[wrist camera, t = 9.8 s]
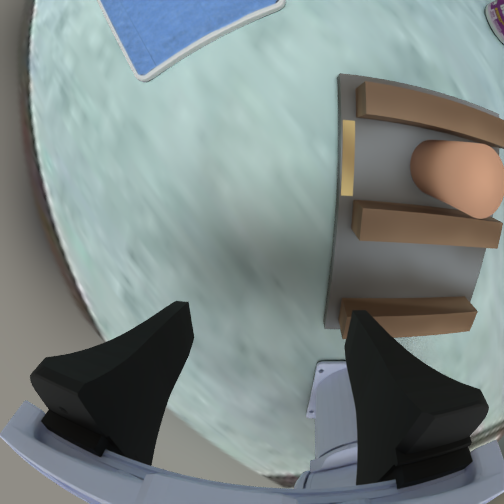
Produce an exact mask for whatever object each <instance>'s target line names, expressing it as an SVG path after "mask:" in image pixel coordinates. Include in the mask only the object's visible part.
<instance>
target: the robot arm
mask: <svg viewBox="0 0 504 504" xmlns="http://www.w3.org/2000/svg"><path fill="white" fill-rule="evenodd" d="M193 340H194V333H193V327H192V321H191V315H190V308H189V302H182V301H175V302H173V303H172V304H170V305H169V306H167V307H166V308H164V309H163V310H161V311H160V312H158V313H157V314H155V315H154V316H152V317H151V318H149V319H148V320H146V321H145V322H143V323H141V324H140V325H138V326H136V327H135V328H133V329H131V330H130V331H128V332H126V333H124V334H122V335H120V336H118V337H116V338H114V339H112V340H110V341H107V342H105V343H103V344H100V345H97V346H94V347H92V348H89V349H85V350H82V351H78V352H74V353H71V354H66V355H60V356H53V357H46V358H45V359H44V360H43V361H42V362H41V363H40V364H39V365H38V367H37V368H36V369H35V370H34V371H33V372H32V374H31V375H30V379H31V383H32V386H33V387H34V389H35V391H36V392H37V393H38V395H39V396H40V398H41V399H42V401H43V402H44V403H45V405H46V406H47V407H48V409H49V410H48V412H47V413H46V414H45V413H44V412H43V411H42V410H41V409H39V408H38V407H36V406H35V405H33V404H31V403H30V402H28V401H26V400H25V401H24V402H23V404H22V405H21V406H20V407H19V409H18V410H17V411H16V413H15V414H14V415H13V417H12V418H11V419H10V421H9V422H8V423H7V425H6V426H5V427H4V429H3V430H2V432H1V433H0V437H1V438H2V439H3V440H4V441H5V442H6V443H7V444H8V445H9V446H10V447H11V448H12V449H13V450H14V451H15V452H16V453H17V454H18V455H20V456H21V457H22V458H23V459H24V460H25V461H26V462H27V463H29V464H30V465H31V466H32V467H34V468H35V469H36V470H38V471H39V472H40V473H42V474H43V475H45V476H46V477H47V478H49V479H50V480H52V481H53V482H55V483H56V484H58V485H59V486H61V487H63V488H64V489H66V490H67V491H69V492H70V493H72V494H74V495H75V496H77V497H79V498H80V499H82V500H84V501H86V502H87V503H89V504H486V503H488V502H489V501H491V500H492V499H494V498H495V497H497V496H498V495H500V494H501V493H503V492H504V459H503V456H502V453H501V451H500V448H499V445H498V443H497V440H494V441H492V442H490V443H487V444H485V445H483V446H480V447H478V448H476V449H474V450H473V451H471V452H470V451H469V448H468V446H470V445H471V443H472V442H471V439H470V435H471V434H472V433H473V432H474V431H475V429H476V428H477V427H478V426H479V425H480V424H481V423H482V421H483V420H484V419H485V417H486V415H487V413H488V410H489V406H488V404H487V402H486V400H485V398H484V396H483V394H482V392H481V390H480V389H477V388H474V387H471V386H469V385H466V384H463V383H460V382H458V381H456V380H454V379H451V378H449V377H447V376H445V375H443V374H441V373H440V372H438V371H436V370H435V369H433V368H431V367H429V366H428V365H426V364H425V363H423V362H422V361H421V360H419V359H418V358H416V357H415V356H414V355H412V354H411V353H410V352H409V351H407V350H406V349H405V348H404V347H403V346H402V345H400V344H399V343H398V342H397V341H396V340H395V339H394V338H393V337H392V336H391V335H390V334H389V333H388V332H387V331H386V330H385V329H384V328H383V327H382V326H381V325H380V324H379V323H378V322H377V321H376V320H375V319H374V318H373V317H372V316H371V315H370V314H369V313H368V312H367V311H366V310H352V315H351V320H350V325H349V329H348V334H347V338H346V342H345V356H346V361H322V362H319V363H317V366H316V371H315V376H314V381H313V386H312V390H311V395H310V399H309V404H308V408H307V413H306V417H307V418H315V458H316V459H315V460H311V461H310V471H305V472H303V473H302V474H301V476H300V477H299V479H298V480H297V482H296V484H295V486H294V489H286V488H266V487H254V486H244V485H235V484H228V483H222V482H215V481H210V480H205V479H200V478H195V477H191V476H186V475H182V474H178V473H174V472H170V471H167V470H163V469H160V468H156V467H153V466H151V465H152V459H153V454H154V449H155V444H156V440H157V436H158V432H159V428H160V425H161V421H162V418H163V414H164V411H165V408H166V405H167V402H168V399H169V397H170V394H171V392H172V390H173V388H174V385H175V383H176V381H177V379H178V377H179V375H180V373H181V371H182V369H183V367H184V365H185V362H186V360H187V358H188V356H189V353H190V350H191V347H192V343H193ZM320 369H323V370H320Z"/></svg>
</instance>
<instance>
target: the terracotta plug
mask: <svg viewBox="0 0 504 504" xmlns="http://www.w3.org/2000/svg"><path fill="white" fill-rule="evenodd" d="M410 170H411V175H412V179H413V181H414V183H415V184H416V186H417V187H418V188H419V189H420V190H421V191H422V192H424V193H425V194H428V195H430V196H432V197H434V198H436V199H438V200H440V201H443V202H445V203H447V204H449V205H451V206H453V207H455V208H457V209H459V210H461V211H463V212H464V213H466V214H468V215H470V216H472V217H474V218H478V219H483V218H487V217H489V216H491V215H492V214H493V213H494V212H495V211H496V210H497V209H498V207H499V206H500V204H501V202H502V199H503V196H504V167H503V164H502V161H501V159H500V157H499V155H498V154H497V153H496V151H495V150H494V149H492V148H491V147H490V146H488V145H486V144H481V143H471V142H460V141H446V140H426V141H423V142H422V143H420V144H419V145H418V146H417V147H416V148H415V150H414V152H413V154H412V157H411V162H410Z"/></svg>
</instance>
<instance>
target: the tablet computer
mask: <svg viewBox="0 0 504 504" xmlns="http://www.w3.org/2000/svg"><path fill="white" fill-rule="evenodd" d="M97 2H98V4H99V6H100V8H101V10H102V12H103V14H104V16H105V18H106V20H107V22H108V24H109V26H110V28H111V30H112V32H113V34H114V36H115V38H116V40H117V42H118V44H119V46H120V48H121V50H122V51H123V54H124V56H125V57H126V59H127V61H128V63H129V65H130V67H131V69H132V71H133V73H134V75H135V77H136V78H137V79H138V80H140V81H142V82H146V81H150V80H151V79H153V78H155V77H156V76H157V75H159V74H160V73H162V72H163V71H165V70H166V69H168V68H170V67H171V66H173V65H174V64H176V63H177V62H179V61H181V60H182V59H184V58H185V57H187V56H189V55H190V54H192V53H194V52H195V51H197V50H199V49H201V48H202V47H204V46H206V45H208V44H210V43H211V42H213V41H215V40H217V39H219V38H221V37H222V36H224V35H226V34H228V33H230V32H232V31H234V30H236V29H238V28H240V27H243V26H245V25H247V24H249V23H251V22H253V21H256V20H258V19H260V18H262V17H264V16H267V15H269V14H271V13H274V12H276V11H279V10H280V9H282V8H283V7H284V6H285V3H286V2H285V0H97Z"/></svg>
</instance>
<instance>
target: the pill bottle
mask: <svg viewBox="0 0 504 504" xmlns="http://www.w3.org/2000/svg"><path fill="white" fill-rule="evenodd" d="M486 17H487V20H488V22H489V24H490V26H491V28H492V30H493V31H494V33H495V35H496V36H497V37H498V38H499V40H500V41H501V42H502V43H503V44H504V0H495V1H493V2H491V3H490V4H488V5H487V6H486Z"/></svg>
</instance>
